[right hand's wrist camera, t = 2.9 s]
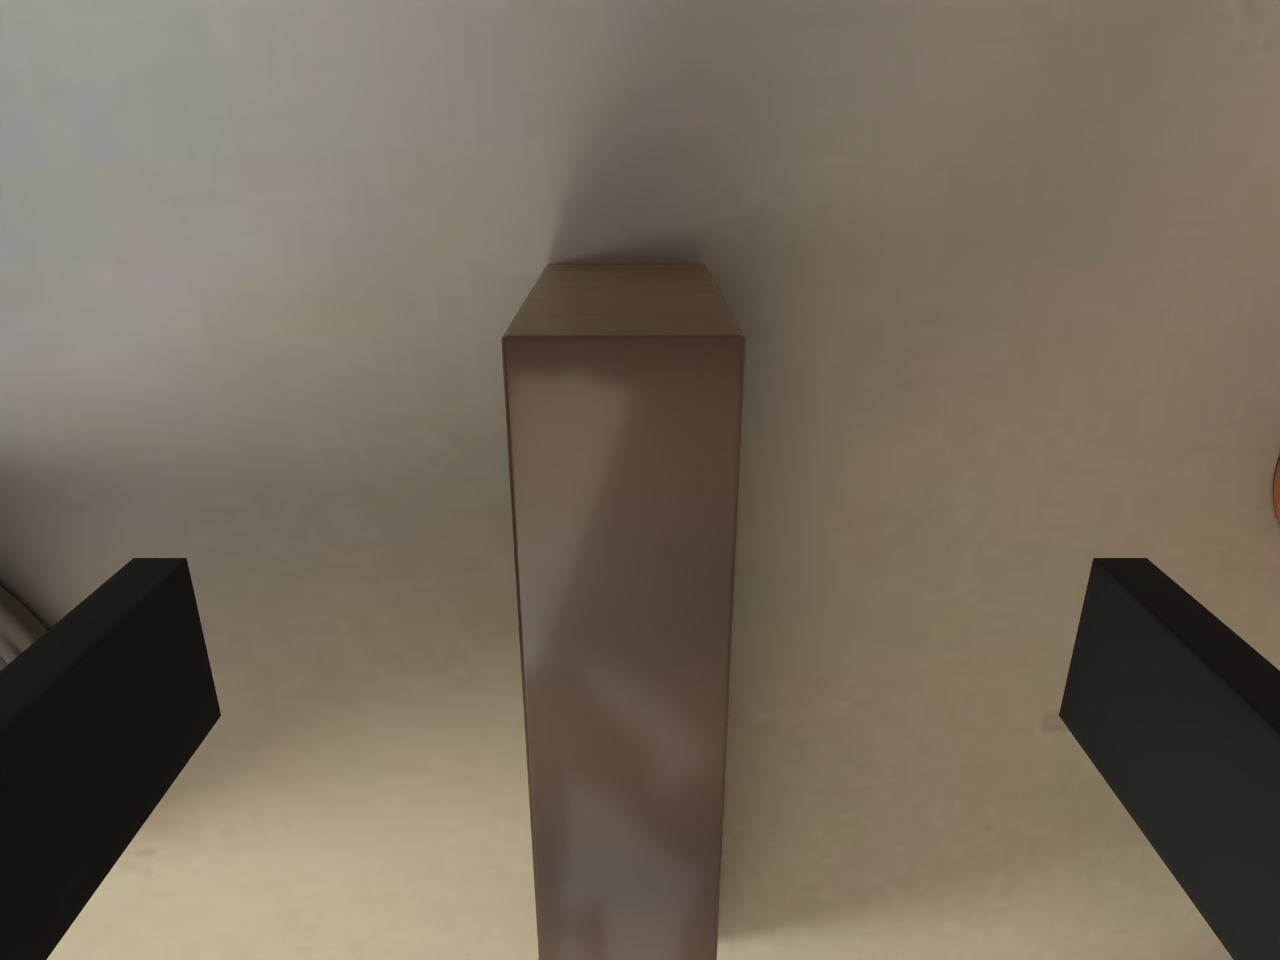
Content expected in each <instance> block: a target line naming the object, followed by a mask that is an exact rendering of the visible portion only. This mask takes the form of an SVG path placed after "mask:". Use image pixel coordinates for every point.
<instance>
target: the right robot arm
mask: <svg viewBox="0 0 1280 960" xmlns="http://www.w3.org/2000/svg"><path fill="white" fill-rule="evenodd" d="M220 716H221V713H220V709H219V704H218V700H217V695H216V691H215V686H214V681H213V677H212V672H211V668H210V663H209V659H208V654H207V650H206V645H205V640H204V636H203V631H202V627H201V622H200V618H199V613H198V608H197V604H196V599H195V595H194V590H193V586H192V581H191V576H190V572H189V567H188V563H187V558H133V559H132V560H131V561H130V562H128V563H127V564H126V565H125V566H124V567H123V568H121V569H120V570H119V571H118V572H117V573H115V574H114V575H113V576H112V577H111V578H110V579H108V580H107V581H106V582H105V583H104V584H102V585H101V586H100V587H99V588H98V589H97V590H95V591H94V592H93V593H92V594H91V595H89V596H88V597H87V598H86V599H85V600H84V601H82V602H81V603H80V604H79V605H78V606H76V607H75V608H74V609H73V610H72V611H71V612H69V613H68V614H67V615H66V616H65V617H63V618H62V619H61V620H60V621H59V622H58V623H56V624H55V625H54V626H53V627H52V628H50V629H49V630H48V631H47V630H46V629H45V628H44V626H43V625H42V624H41V623H40V622H39V621H38V620H37V619H36V618H35V617H34V616H33V615H32V614H31V613H30V612H29V611H28V610H27V609H26V608H25V607H24V606H23V605H22V604H21V603H20V602H19V601H18V600H16V599H15V598H14V597H13V596H12V595H11V594H10V593H9V592H8V591H6V590H5V589H4V588H2V587H1V586H0V960H46V959H47V958H48V957H49V955H50V954H51V952H52V951H53V950H54V948H55V947H56V945H57V944H58V943H59V941H60V940H61V938H62V937H63V936H64V934H65V933H66V931H67V930H68V929H69V927H70V926H71V924H72V923H73V922H74V920H75V919H76V917H77V916H78V915H79V913H80V912H81V910H82V909H83V908H84V906H85V905H86V903H87V902H88V901H89V899H90V898H91V896H92V895H93V894H94V892H95V891H96V889H97V888H98V887H99V885H100V884H101V882H102V881H103V880H104V878H105V877H106V875H107V874H108V873H109V871H110V870H111V868H112V867H113V866H114V864H115V863H116V861H117V860H118V859H119V857H120V856H121V854H122V853H123V852H124V850H125V849H126V848H127V846H128V845H129V843H130V842H131V841H132V839H133V838H134V836H135V835H136V834H137V832H138V831H139V829H140V828H141V827H142V825H143V824H144V822H145V821H146V820H147V818H148V817H149V815H150V814H151V813H152V811H153V810H154V808H155V807H156V806H157V804H158V803H159V801H160V800H161V799H162V797H163V796H164V794H165V793H166V792H167V790H168V789H169V787H170V786H171V785H172V783H173V782H174V780H175V779H176V778H177V776H178V775H179V773H180V772H181V771H182V769H183V768H184V766H185V765H186V764H187V762H188V761H189V759H190V758H191V757H192V755H193V754H194V752H195V751H196V750H197V748H198V747H199V745H200V744H201V743H202V741H203V740H204V738H205V737H206V736H207V734H208V733H209V731H210V730H211V729H212V727H213V726H214V725H215V723H216V722H217V720H218V719H219V718H220ZM1059 716H1060V718H1061V719H1062V720H1063V722H1064V723H1065V725H1066V726H1067V727H1068V729H1069V730H1070V731H1071V733H1072V734H1073V736H1074V737H1075V738H1076V740H1077V741H1078V743H1079V744H1080V745H1081V747H1082V748H1083V750H1084V751H1085V752H1086V754H1087V755H1088V757H1089V758H1090V759H1091V761H1092V762H1093V764H1094V765H1095V766H1096V768H1097V769H1098V771H1099V772H1100V773H1101V775H1102V776H1103V778H1104V779H1105V780H1106V782H1107V783H1108V785H1109V786H1110V787H1111V789H1112V790H1113V792H1114V793H1115V794H1116V796H1117V797H1118V799H1119V800H1120V801H1121V803H1122V804H1123V806H1124V807H1125V808H1126V810H1127V811H1128V813H1129V814H1130V815H1131V817H1132V818H1133V820H1134V821H1135V822H1136V824H1137V825H1138V827H1139V828H1140V829H1141V831H1142V832H1143V834H1144V835H1145V836H1146V838H1147V839H1148V841H1149V842H1150V843H1151V845H1152V846H1153V848H1154V849H1155V850H1156V852H1157V853H1158V854H1159V856H1160V857H1161V859H1162V860H1163V861H1164V863H1165V864H1166V866H1167V867H1168V868H1169V870H1170V871H1171V873H1172V874H1173V875H1174V877H1175V878H1176V880H1177V881H1178V882H1179V884H1180V885H1181V887H1182V888H1183V889H1184V891H1185V892H1186V894H1187V895H1188V896H1189V898H1190V899H1191V901H1192V902H1193V903H1194V905H1195V906H1196V908H1197V909H1198V910H1199V912H1200V913H1201V915H1202V916H1203V917H1204V919H1205V920H1206V922H1207V923H1208V924H1209V926H1210V927H1211V929H1212V930H1213V931H1214V933H1215V934H1216V936H1217V937H1218V938H1219V940H1220V941H1221V943H1222V944H1223V945H1224V947H1225V948H1226V950H1227V951H1228V952H1229V954H1230V955H1231V957H1232V958H1233V959H1234V960H1280V671H1279V670H1278V669H1277V668H1276V667H1274V666H1273V665H1272V664H1271V663H1270V662H1269V661H1267V660H1266V659H1265V658H1264V657H1263V656H1261V655H1260V654H1259V653H1258V652H1257V651H1256V650H1254V649H1253V648H1252V647H1251V646H1250V645H1248V644H1247V643H1246V642H1245V641H1244V640H1243V639H1241V638H1240V637H1239V636H1238V635H1237V634H1235V633H1234V632H1233V631H1232V630H1231V629H1230V628H1228V627H1227V626H1226V625H1225V624H1224V623H1222V622H1221V621H1220V620H1219V619H1218V618H1217V617H1215V616H1214V615H1213V614H1212V613H1211V612H1209V611H1208V610H1207V609H1206V608H1205V607H1204V606H1202V605H1201V604H1200V603H1199V602H1198V601H1196V600H1195V599H1194V598H1193V597H1192V596H1191V595H1189V594H1188V593H1187V592H1186V591H1185V590H1183V589H1182V588H1181V587H1180V586H1179V585H1178V584H1176V583H1175V582H1174V581H1173V580H1172V579H1170V578H1169V577H1168V576H1167V575H1166V574H1165V573H1163V572H1162V571H1161V570H1160V569H1159V568H1157V567H1156V566H1155V565H1154V564H1153V563H1152V562H1150V561H1149V560H1148V559H1147V558H1093V563H1092V567H1091V572H1090V576H1089V581H1088V586H1087V590H1086V595H1085V599H1084V604H1083V608H1082V613H1081V618H1080V622H1079V627H1078V631H1077V636H1076V640H1075V645H1074V650H1073V654H1072V659H1071V663H1070V668H1069V672H1068V677H1067V681H1066V686H1065V691H1064V695H1063V700H1062V704H1061V709H1060V713H1059Z"/></svg>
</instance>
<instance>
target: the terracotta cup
mask: <svg viewBox="0 0 1280 960" xmlns="http://www.w3.org/2000/svg"><path fill="white" fill-rule="evenodd" d="M1273 493H1274V507H1275V511H1276V515H1277V519H1278V521H1279V524H1280V459H1279V462H1278V466H1277V470H1276V475H1275V480H1274V492H1273Z"/></svg>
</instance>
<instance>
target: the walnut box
mask: <svg viewBox="0 0 1280 960" xmlns="http://www.w3.org/2000/svg"><path fill="white" fill-rule="evenodd" d="M502 356H503V372H504V389H505V405H506V422H507V438H508V455H509V471H510V488H511V504H512V521H513V537H514V554H515V570H516V587H517V603H518V620H519V636H520V653H521V670H522V686H523V703H524V719H525V736H526V752H527V769H528V785H529V802H530V818H531V835H532V851H533V868H534V884H535V901H536V917H537V934H538V950H539V960H717V940H718V919H719V897H720V875H721V854H722V832H723V810H724V789H725V767H726V745H727V724H728V702H729V681H730V659H731V637H732V616H733V594H734V572H735V551H736V529H737V507H738V486H739V464H740V442H741V421H742V399H743V377H744V356H745V338H744V335H743V334H742V332H741V330H740V328H739V326H738V324H737V323H736V321H735V319H734V317H733V315H732V313H731V312H730V310H729V308H728V306H727V304H726V302H725V301H724V299H723V297H722V295H721V293H720V292H719V290H718V288H717V286H716V284H715V282H714V281H713V279H712V277H711V275H710V273H709V271H708V270H707V268H706V266H705V265H704V264H548V265H547V266H546V267H545V269H544V270H543V272H542V274H541V275H540V277H539V279H538V280H537V282H536V283H535V285H534V287H533V288H532V290H531V292H530V293H529V295H528V296H527V298H526V300H525V301H524V303H523V305H522V306H521V308H520V309H519V311H518V313H517V314H516V316H515V318H514V319H513V321H512V323H511V324H510V326H509V327H508V329H507V331H506V332H505V334H504V336H503V338H502Z"/></svg>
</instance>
